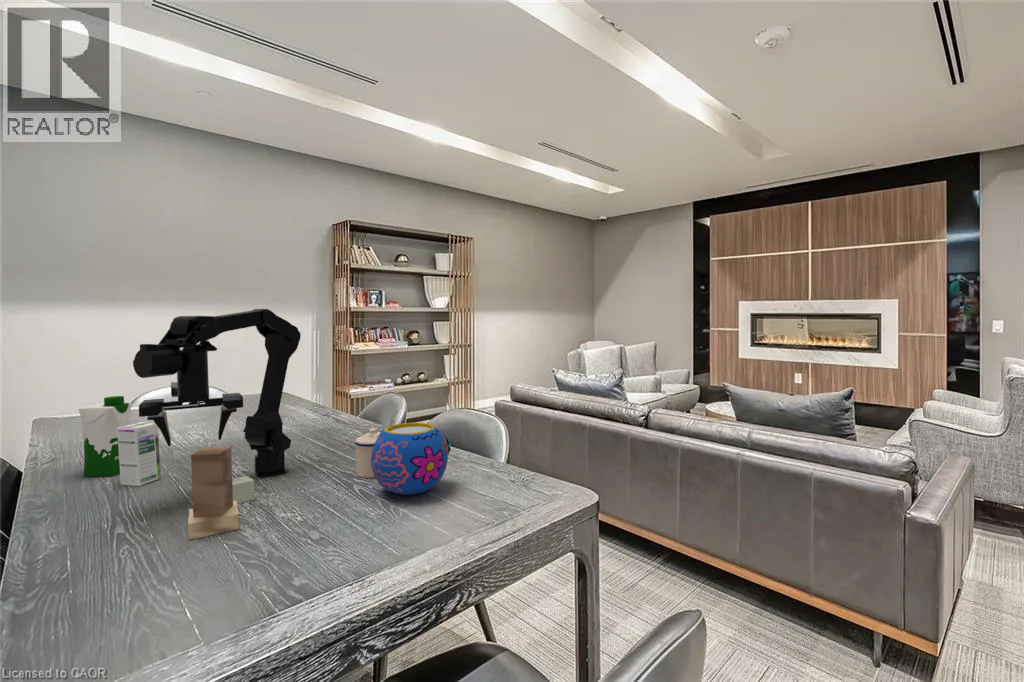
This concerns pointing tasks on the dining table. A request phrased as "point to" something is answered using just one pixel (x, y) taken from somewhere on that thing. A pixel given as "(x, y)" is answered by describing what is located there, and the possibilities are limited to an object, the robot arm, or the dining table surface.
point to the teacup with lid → (365, 453)
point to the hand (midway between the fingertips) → (195, 442)
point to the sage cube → (243, 489)
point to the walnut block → (212, 481)
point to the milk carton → (103, 435)
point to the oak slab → (213, 523)
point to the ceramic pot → (410, 457)
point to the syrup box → (139, 453)
